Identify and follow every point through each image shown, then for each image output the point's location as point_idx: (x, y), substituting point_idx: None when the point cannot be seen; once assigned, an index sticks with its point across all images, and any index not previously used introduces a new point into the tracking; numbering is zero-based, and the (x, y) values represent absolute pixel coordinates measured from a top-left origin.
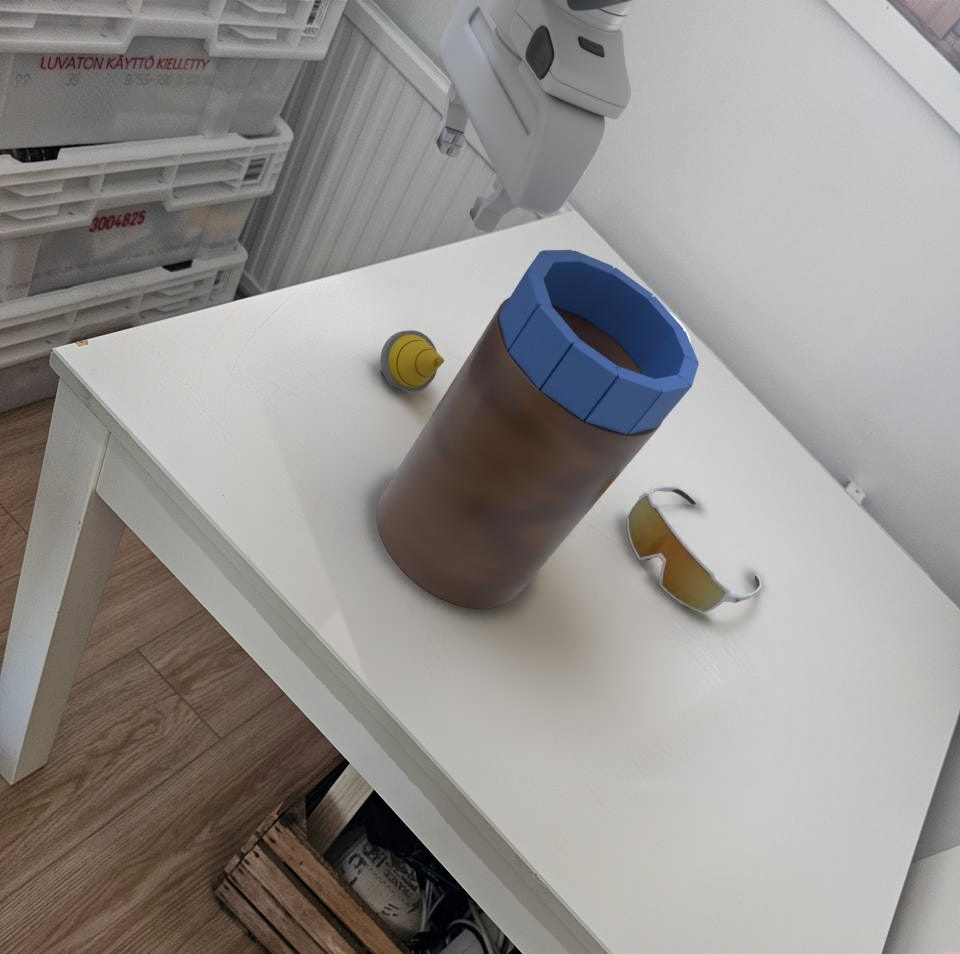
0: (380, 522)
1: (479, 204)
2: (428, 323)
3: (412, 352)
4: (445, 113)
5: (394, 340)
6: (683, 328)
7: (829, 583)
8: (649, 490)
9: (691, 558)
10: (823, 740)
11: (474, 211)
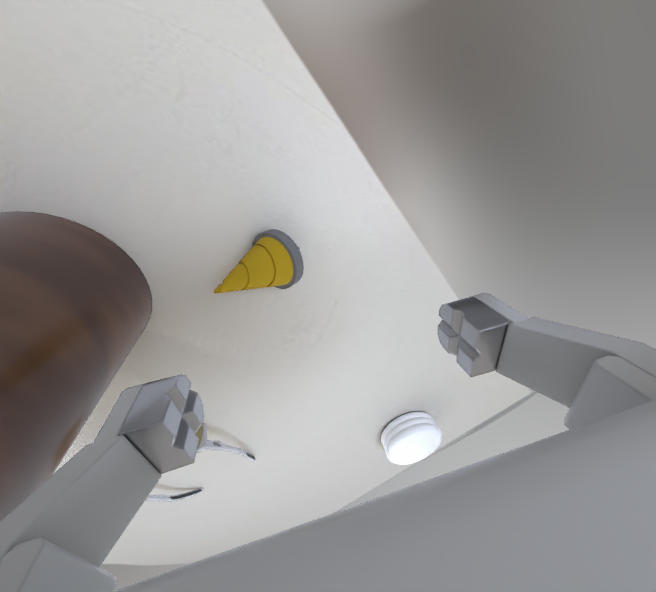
0: (4, 213)
1: (132, 422)
2: (369, 284)
3: (251, 259)
4: (554, 329)
5: (281, 242)
6: (416, 460)
7: (229, 518)
8: (212, 448)
9: None
10: None
11: (151, 395)
